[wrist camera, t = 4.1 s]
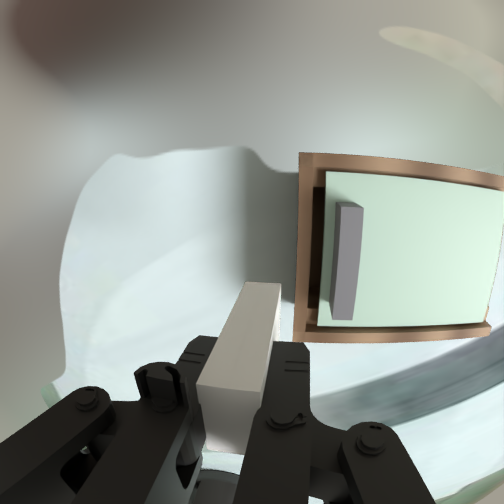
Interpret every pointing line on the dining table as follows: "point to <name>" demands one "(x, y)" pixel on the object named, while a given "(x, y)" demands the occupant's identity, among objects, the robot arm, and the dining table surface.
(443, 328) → the box
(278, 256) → the dining table surface
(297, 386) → the robot arm
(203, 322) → the dining table surface
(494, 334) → the dining table surface
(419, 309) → the mint green panel
